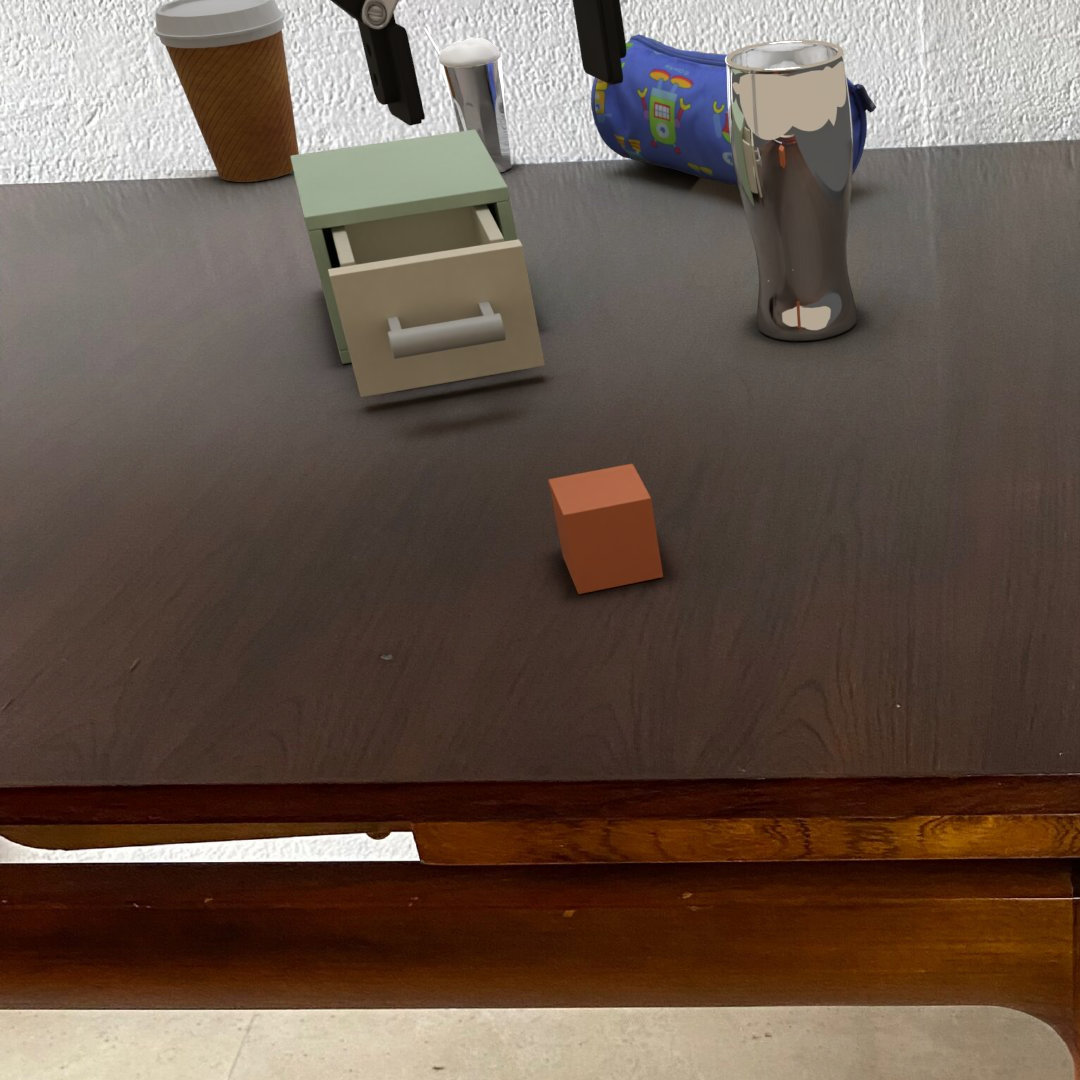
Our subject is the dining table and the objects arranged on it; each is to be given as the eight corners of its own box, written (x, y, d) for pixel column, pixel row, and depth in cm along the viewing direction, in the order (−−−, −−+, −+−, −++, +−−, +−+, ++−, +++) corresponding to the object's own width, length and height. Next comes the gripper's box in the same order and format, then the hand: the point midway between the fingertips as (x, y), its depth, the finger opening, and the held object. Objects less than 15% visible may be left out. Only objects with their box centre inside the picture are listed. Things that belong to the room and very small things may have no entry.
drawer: (557, 392, 96) (535, 268, 92) (367, 425, 94) (335, 300, 89) (511, 296, 108) (489, 184, 104) (342, 324, 106) (313, 210, 102)
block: (663, 577, 80) (651, 497, 78) (578, 594, 79) (563, 514, 77) (645, 541, 83) (632, 462, 81) (563, 557, 82) (547, 478, 80)
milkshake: (462, 160, 136) (435, 21, 130) (528, 159, 135) (503, 19, 129) (443, 178, 132) (413, 35, 126) (510, 177, 132) (483, 34, 125)
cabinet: (535, 332, 106) (507, 186, 100) (342, 364, 103) (303, 216, 98) (501, 264, 116) (475, 129, 111) (325, 292, 113) (290, 155, 108)
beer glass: (756, 304, 107) (728, 41, 98) (867, 300, 107) (850, 35, 98) (744, 347, 102) (714, 72, 93) (862, 342, 102) (843, 66, 92)
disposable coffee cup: (302, 185, 133) (258, 14, 125) (181, 192, 133) (129, 21, 126) (335, 150, 140) (295, -14, 133) (220, 156, 141) (173, -7, 133)
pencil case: (884, 191, 124) (876, 46, 118) (801, 224, 119) (788, 75, 113) (676, 146, 136) (658, 12, 130) (592, 175, 131) (571, 37, 125)
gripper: (585, -380, 75) (644, 50, 85) (182, -343, 68) (300, 118, 79) (659, -379, 70) (712, 79, 80) (231, -339, 63) (350, 153, 74)
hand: (507, 98), depth 80 cm, fingers open, 9 cm apart
